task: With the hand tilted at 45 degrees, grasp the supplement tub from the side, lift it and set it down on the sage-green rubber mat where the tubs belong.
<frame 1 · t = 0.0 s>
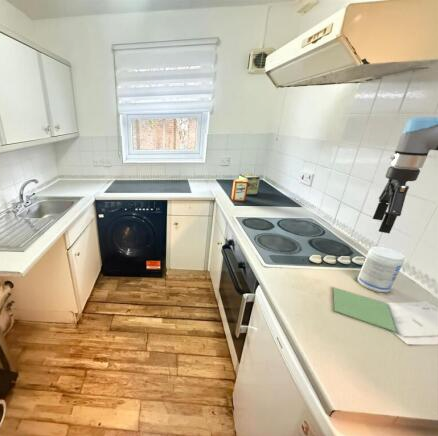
hand: (380, 225, 87), 23 cm above the worktop, tool pointing down, fingers open, 13 cm apart
supplement tub: (372, 285, 92), on the worktop
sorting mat: (361, 307, 81), on the worktop
baking soda box: (238, 200, 188), on the worktop
protein box: (246, 193, 205), on the worktop
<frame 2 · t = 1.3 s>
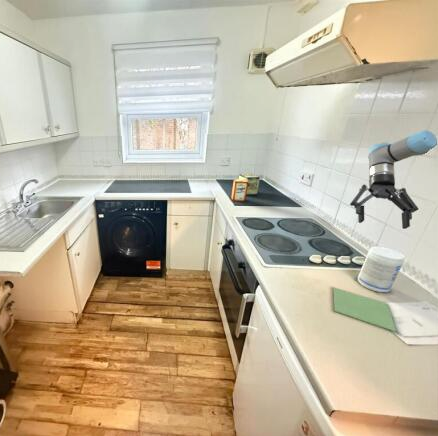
hand: (383, 224, 92), 22 cm above the worktop, tool tilted 45°, fingers open, 13 cm apart
nothing on the worktop moved.
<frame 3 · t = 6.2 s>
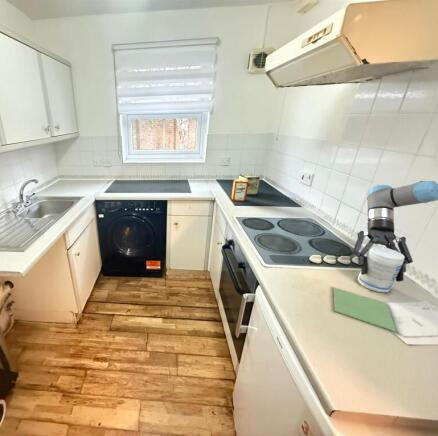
hand: (381, 277, 87), 6 cm above the worktop, tool tilted 45°, fingers closed on supplement tub, 9 cm apart
supplement tub: (372, 285, 92), on the worktop, touching gripper
everything else where it was.
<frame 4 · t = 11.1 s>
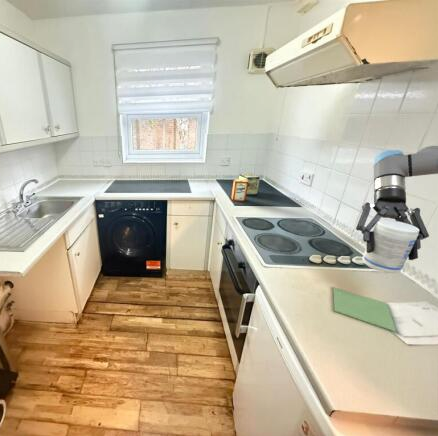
hand: (391, 255, 73), 21 cm above the worktop, tool tilted 45°, fingers closed on supplement tub, 9 cm apart
supplement tub: (379, 266, 78), point 15 cm above the worktop, touching gripper
everything else where it was.
when the fingers open (6 cm above the worktop, at t = 16.1 s): supplement tub stays where it is, resting on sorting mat.
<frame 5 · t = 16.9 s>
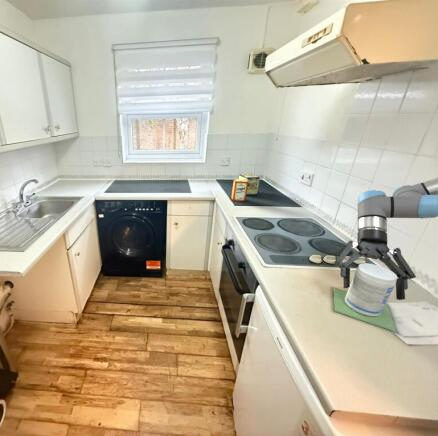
hand: (372, 293, 76), 8 cm above the worktop, tool tilted 45°, fingers open, 13 cm apart
supplement tub: (361, 307, 81), resting on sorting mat
everything else where it was.
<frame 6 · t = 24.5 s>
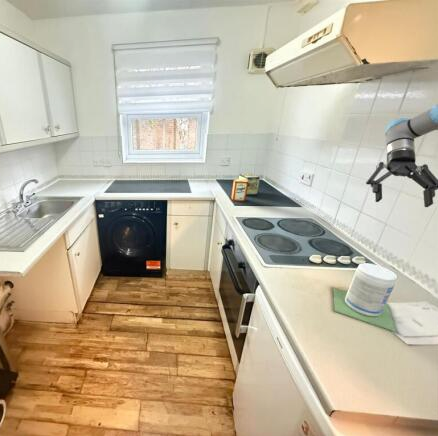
hand: (403, 202, 85), 32 cm above the worktop, tool tilted 45°, fingers open, 13 cm apart
nothing on the worktop moved.
at the end: supplement tub inside the target area on the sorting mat (0.1 cm from its centre), point 0.2 cm above the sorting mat's base; supplement tub tilted 0°; the gripper is holding nothing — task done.
